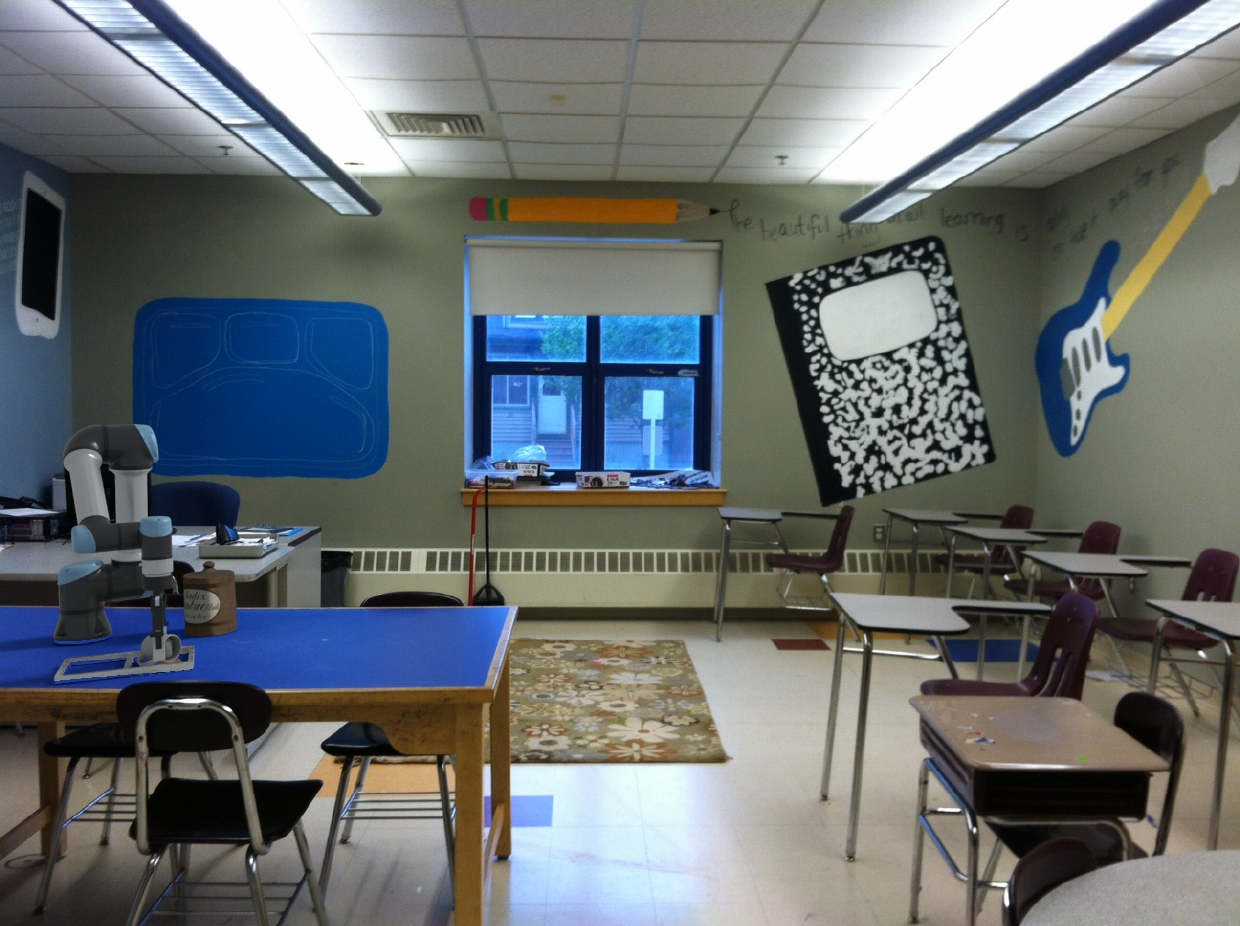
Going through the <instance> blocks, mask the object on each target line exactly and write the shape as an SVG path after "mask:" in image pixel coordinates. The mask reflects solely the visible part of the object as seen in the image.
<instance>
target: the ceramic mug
mask: <svg viewBox="0 0 1240 926" xmlns="http://www.w3.org/2000/svg"><path fill="white" fill-rule="evenodd" d="M164 641H165V660H164V661H155V662H153V637H152V638H150V635H148V636H146V637H145V638H144V639H143V640H142V641H141V643H140V649H139V651H141V655H140V656H139V657H138V659H136V663H137V665H138V667H142V666H151V665H154V664H155V663H157V662H165V663H170V662H173V661H175V660H176V659H178V658H179V656H180V655H179V654H180V651H181V647H182V643H181V639H180V638H179V636H178V635H176V634H167V633H166V634H164ZM144 658H145V660H148V661H144V662H142V661H143V660H144Z"/></svg>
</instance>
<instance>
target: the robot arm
mask: <svg viewBox="0 0 1240 926" xmlns="http://www.w3.org/2000/svg"><path fill="white" fill-rule="evenodd" d="M158 447H159V446H158V443H157V438H156V434H155V432H154V430H153V428H152V427H151V426H150V425H147V424H136V423H132V424H129V423H128V424H121V423H120V424H92V425H88V426H85V427H83V428H81V429H79V430H78V431H77V432H75V433H74V434H73V435H72V436H71V437H70V438H69V440H68V441H67V443H66V444H65V446H64V450H63V452H62V453H63V454H62V460H63V461H62V462H63V467H64V468H65V469H66V470H67V472H69V477H70V483H71V489H72V497H73V501H74V508H75V509H74V510H75V514H76V521H77V522H76V523H77V525H74V526H73V527H72V528H71V531H70V535H71V537H70V540H71V548H72V551H73V553H75V554H78V555H79V554H81V555H82V554H83V555H85V554H91V555H92V554H97V553H99V554H100V553H106V552H107V553H108V552H109V553H110V552H115V553H113V554H112V555H111V556H110V562H109V563H104V561H103V560H102V559H101V558H99V559H88V560H81V561H76V562H73V563H70V564H67V565H64V566H62V567H61V568H60V569H59V571H58V575H57V583H56V584H57V586H58V605H59V607H58V609H59V610H58V611H59V615H58V619H57V623H56V626H55V629H54V633H53V638H54V639H55V640H57V641H82V640H91V639H98V638H103V637H107V636H109V635H111V634H112V635H113V628H112V626H111V623H110V621H109V618H108V617H107V614H106V611H105V609H106V608H105V603H109V602H119V601H128V600H140V599H143V598H149V603H150V613H151V615H152V616H151V617H152V621H151V622H152V626H151V627H152V631H151V632H152V633H151V634H149V636H150V638H152V637H153V662H155V661H164V660H165V641H164V634H167V627H168V626H169V625H170V624H169V623H170V622H169V621H167V617H166V616H167V615H166V614H167V613H166V610H167V600H168V594H167V593H166V590H170V589H173V588H174V586H175V585H174V583H175V582H174V574H173V572H174V557H173V526H172V519H171V517H169V516H165V515H156V516H155V515H154V516H148V511H149V510H148V474H149V473H150V471H151V470H153V464H154V463H157V462H158V461H159V448H158ZM105 464H106V465H108V470H109V471H111V472H112V474H113V475H114V484H115V485H114V487H115V490H114V491H115V493H114V495H115V523H111V520H110V514H109V510H108V504H107V499H106V494H105V489H104V482H103V478H102V473H101V466H102V465H105ZM165 593H166V594H165Z"/></svg>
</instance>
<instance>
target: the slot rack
mask: <svg viewBox="0 0 1240 926" xmlns="http://www.w3.org/2000/svg"><path fill="white" fill-rule="evenodd" d="M194 652H195V644H192V645H181V651H180V654H182V655H188V659H187V661H182V660H181V659H179V658H177V659H176V660H175V661H173V662H170V663H165V662H159V663H156V664H157V665H155V664H154V665H151V666H142V667H140V666H134V667H133V664H132V662H133V663H134V661H133V659H134V657H139V656H140V655H141V651H140V650H136V651H135V650H133V651H125V652H115V653H106V654H98V655H97V654H95V655H86V656H76V657H68V658H67V657H66V658H64V660H63V662H62V663H61V665H60V667H59V669H58V670H57V672H56V673H55V675H54V677H53V681H60V680H70V679H81V678H92V677H107V676H117V675H128V674H129V675H130V674H142V673H156V672H166V673H171V672H170V671H175V672H182V670H184V671H191V670H190V669H193V668H194V666H195V653H196V652H195V653H194ZM187 653H189V654H187ZM117 658H127V660H126V661H124V662H125V663H124V666H123V668H114V669H107V670H97V671H90V672H89V671H88V672H79V673H71V674H70V673H69V674H66V675H63V674H64V672H65V670H66V668H67V666H68V665H69V663H70V662H77V661H87V660H88V661H89V660H105V659H106V660H107V659H117ZM131 665H132V668H131ZM193 670H194V669H193Z"/></svg>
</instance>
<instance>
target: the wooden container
mask: <svg viewBox="0 0 1240 926" xmlns="http://www.w3.org/2000/svg"><path fill="white" fill-rule="evenodd" d="M215 565H216V563H215V562H214V561H212V560H207V561H205V562H203V563H202V568H203V569H201V571H194V572H189V573H185V574H183V576H182V583H183V584H182V586H183V616H184V619H183V620H184V634H185V635H186V636H188V637H194V636H196V637H198V638H199V637H200V638H201V637H202V638H204V637H206V636H207V637H213V636H214V637H215V636H220V635H221V636H223V635H226V634H229V633H233V632H234V631H236V630H237V629H238V614H237V612H238V611H237V609H238V608H237V597H236V596H237V595H236V594H237V593H236V583H235V582H236V581H235V580H236V576H235V571H233V570H230V569H216V568H215ZM196 637H195V638H196Z"/></svg>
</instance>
